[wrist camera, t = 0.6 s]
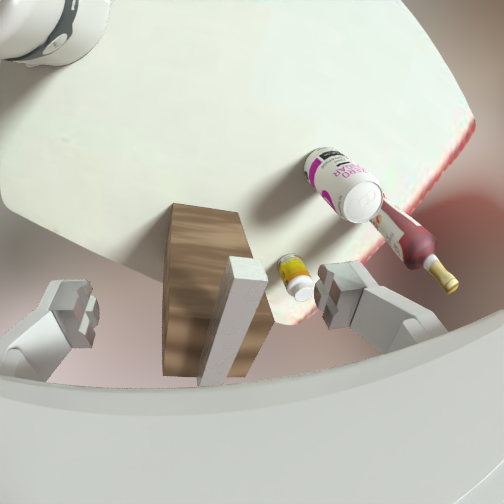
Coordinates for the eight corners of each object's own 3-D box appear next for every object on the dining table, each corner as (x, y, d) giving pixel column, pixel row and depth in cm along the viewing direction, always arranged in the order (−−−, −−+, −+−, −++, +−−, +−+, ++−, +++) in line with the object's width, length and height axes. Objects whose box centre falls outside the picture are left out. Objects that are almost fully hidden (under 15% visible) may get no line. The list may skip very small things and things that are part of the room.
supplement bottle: (273, 258, 61) (288, 291, 53) (297, 248, 61) (315, 280, 53) (280, 275, 65) (293, 308, 57) (302, 266, 65) (319, 298, 57)
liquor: (351, 195, 56) (437, 286, 34) (379, 180, 55) (471, 261, 33) (358, 221, 60) (434, 312, 38) (384, 207, 59) (465, 289, 37)
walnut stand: (173, 203, 49) (169, 315, 29) (237, 212, 53) (274, 321, 32) (164, 260, 56) (162, 375, 35) (221, 266, 60) (244, 377, 39)
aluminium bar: (229, 255, 25) (234, 278, 23) (260, 259, 26) (268, 281, 24) (195, 371, 36) (198, 390, 34) (217, 372, 37) (220, 390, 35)
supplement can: (318, 193, 54) (355, 236, 42) (293, 165, 49) (329, 203, 38) (349, 167, 52) (393, 203, 40) (326, 137, 47) (372, 165, 35)
